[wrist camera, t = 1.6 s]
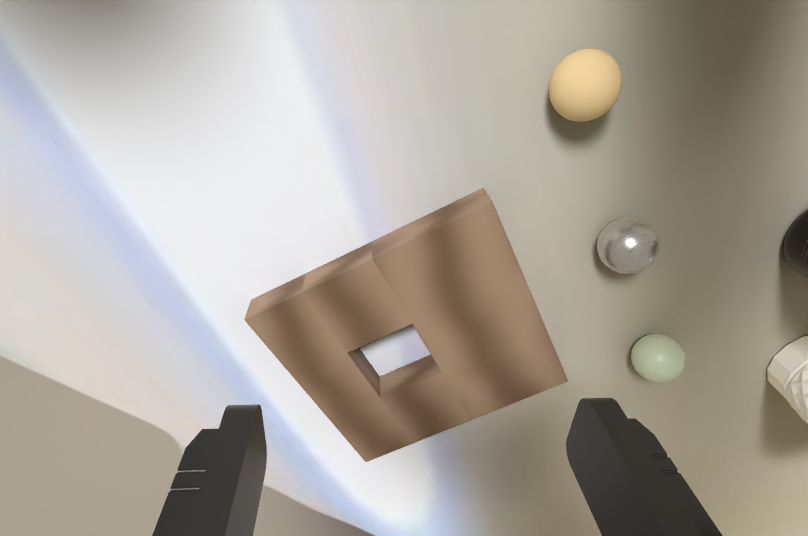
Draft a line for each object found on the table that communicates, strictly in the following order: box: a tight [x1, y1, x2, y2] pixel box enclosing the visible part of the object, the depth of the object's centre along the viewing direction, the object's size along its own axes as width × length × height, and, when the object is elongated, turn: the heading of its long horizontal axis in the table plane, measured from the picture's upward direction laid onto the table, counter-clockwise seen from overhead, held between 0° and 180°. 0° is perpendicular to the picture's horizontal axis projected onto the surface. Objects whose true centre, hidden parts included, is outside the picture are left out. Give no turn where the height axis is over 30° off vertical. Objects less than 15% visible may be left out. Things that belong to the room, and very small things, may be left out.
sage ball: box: [631, 334, 686, 383], centre depth 39 cm, size 4×4×4 cm
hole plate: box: [244, 188, 568, 462], centre depth 37 cm, size 19×18×2 cm
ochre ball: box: [549, 48, 622, 122], centre depth 28 cm, size 4×4×4 cm
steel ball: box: [597, 217, 659, 274], centre depth 33 cm, size 4×4×4 cm
